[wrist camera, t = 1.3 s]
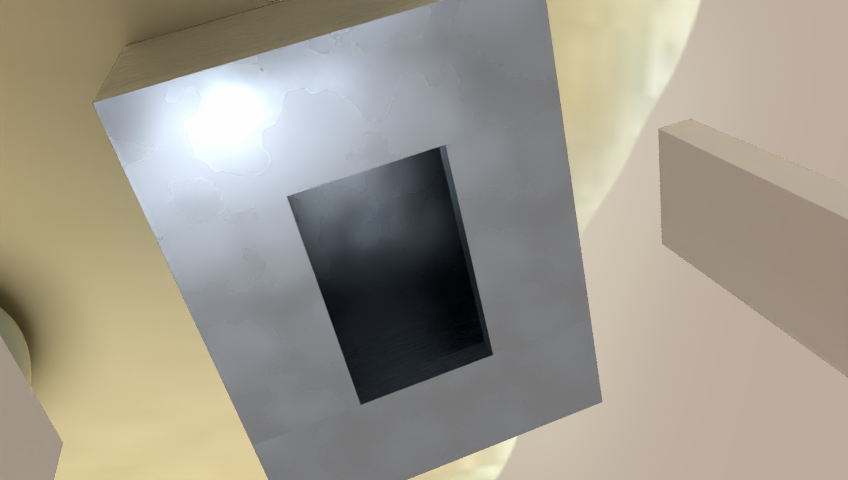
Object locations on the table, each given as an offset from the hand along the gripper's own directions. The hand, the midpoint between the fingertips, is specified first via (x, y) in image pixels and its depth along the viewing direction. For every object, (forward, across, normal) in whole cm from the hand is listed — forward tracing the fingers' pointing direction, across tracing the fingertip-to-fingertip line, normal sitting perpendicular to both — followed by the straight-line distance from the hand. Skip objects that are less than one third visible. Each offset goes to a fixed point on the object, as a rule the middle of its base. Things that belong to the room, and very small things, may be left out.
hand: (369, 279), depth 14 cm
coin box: (+19, +2, -6) cm, 20 cm away
